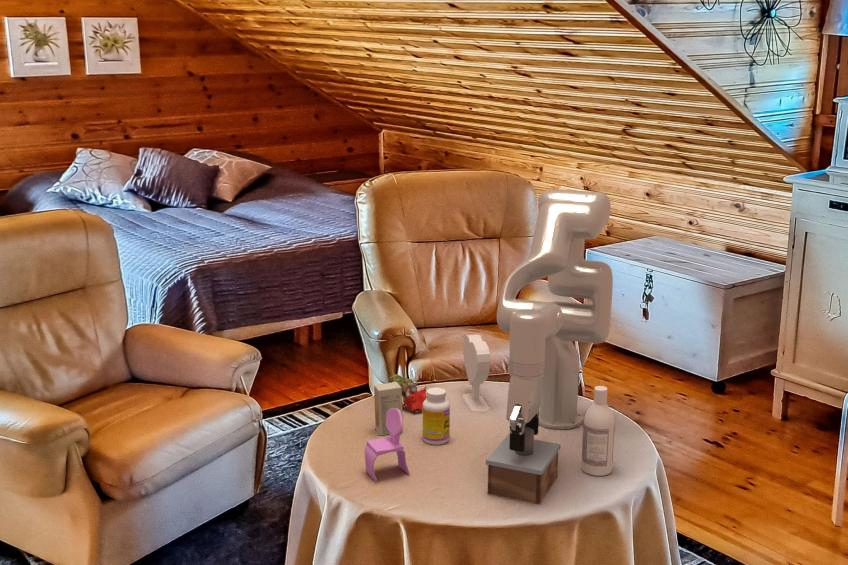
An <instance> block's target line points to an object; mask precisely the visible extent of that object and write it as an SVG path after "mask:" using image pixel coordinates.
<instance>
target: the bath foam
mask: <svg viewBox="0 0 848 565" xmlns="http://www.w3.org/2000/svg"><path fill="white" fill-rule="evenodd" d="M607 402H608V387H606V386H604V385H596V386H594V389H593V402H592V404H591V405H590V406H589V407H588V408H587V410H586V412H585V414H584V417H583V422H582V424H583V426H582V444H581V445H582V448H581V470H582V471H583V472H584V473H586V474H587V475H589V476H595V477H602V476H603V477H604V476H608V475H609V474H611V473H612V471H613V466H614V465H613V463H614V446H615V430H616V425H615V424H616V423H615V422H616V421H615V416H614V413H613V411H612V409H611V407H610V406H609V405H608V403H607Z"/></svg>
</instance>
